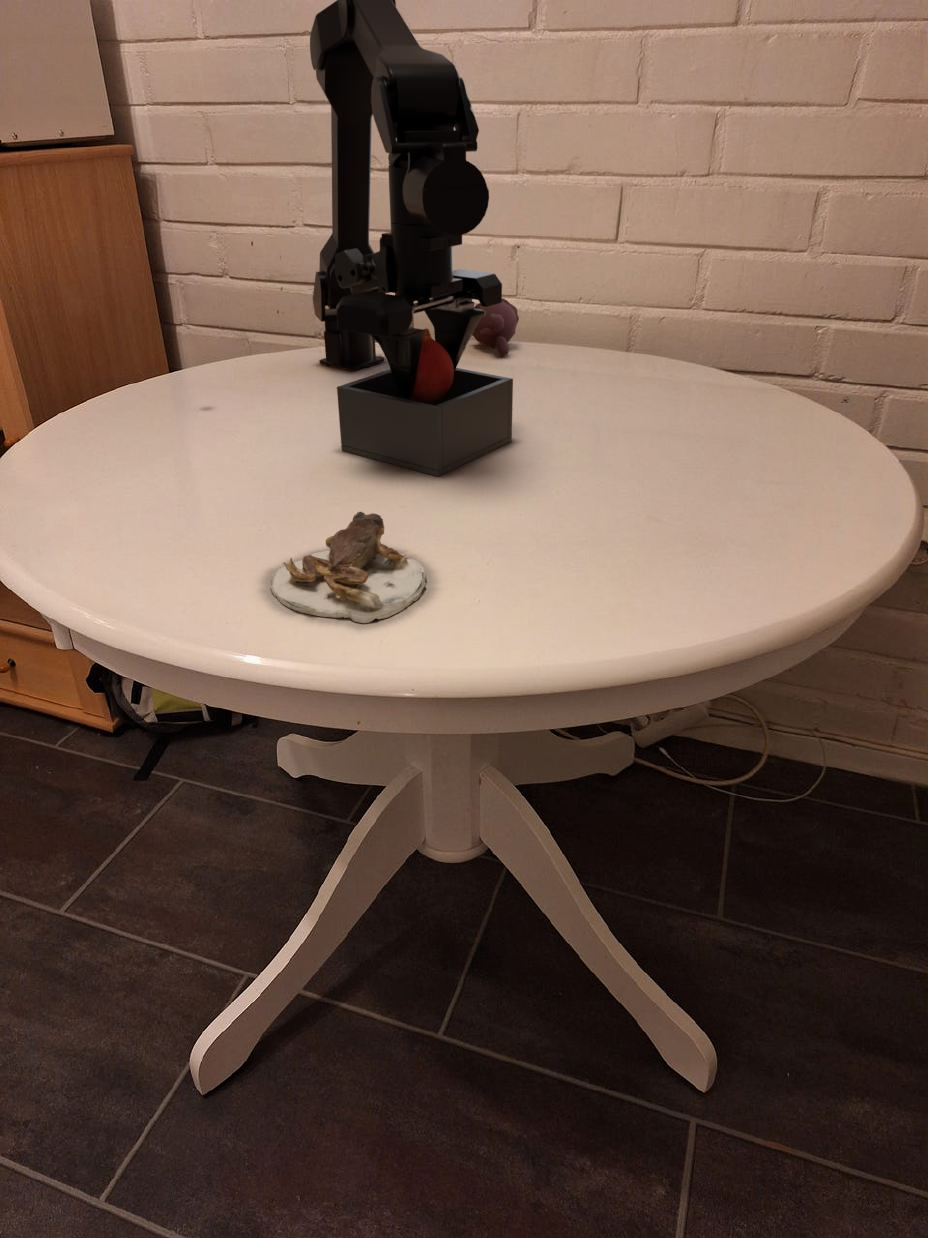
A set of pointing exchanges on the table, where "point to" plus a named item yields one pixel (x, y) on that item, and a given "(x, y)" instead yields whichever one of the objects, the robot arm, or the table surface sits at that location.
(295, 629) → the table surface
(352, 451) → the bin
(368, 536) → the frog figurine
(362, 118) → the robot arm
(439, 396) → the onion
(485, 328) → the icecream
